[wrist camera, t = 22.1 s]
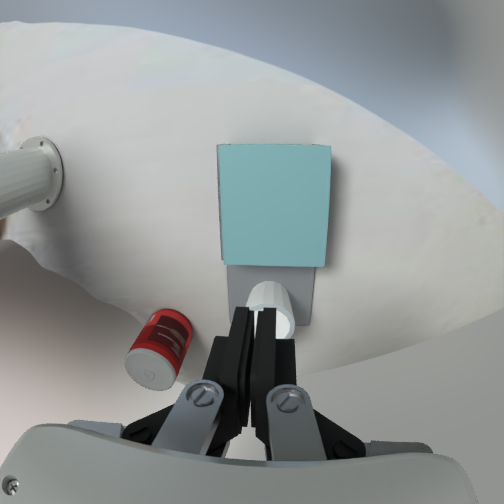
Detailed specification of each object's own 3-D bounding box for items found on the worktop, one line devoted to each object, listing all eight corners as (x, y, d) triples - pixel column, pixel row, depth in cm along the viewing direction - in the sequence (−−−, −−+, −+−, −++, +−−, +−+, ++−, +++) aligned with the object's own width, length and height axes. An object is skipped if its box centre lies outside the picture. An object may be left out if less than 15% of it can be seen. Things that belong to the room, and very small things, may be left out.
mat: (230, 321, 45) (230, 323, 44) (227, 262, 41) (226, 263, 40) (308, 323, 44) (309, 325, 43) (314, 264, 40) (314, 265, 39)
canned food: (154, 342, 48) (130, 385, 38) (146, 304, 45) (117, 346, 35) (195, 348, 48) (178, 395, 37) (191, 309, 45) (170, 356, 34)
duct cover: (225, 261, 36) (223, 264, 36) (220, 144, 31) (218, 145, 30) (323, 263, 35) (324, 267, 34) (329, 146, 30) (331, 146, 29)
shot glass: (302, 293, 41) (306, 322, 35) (274, 325, 44) (273, 355, 37) (262, 268, 40) (259, 294, 34) (236, 302, 43) (229, 331, 36)
